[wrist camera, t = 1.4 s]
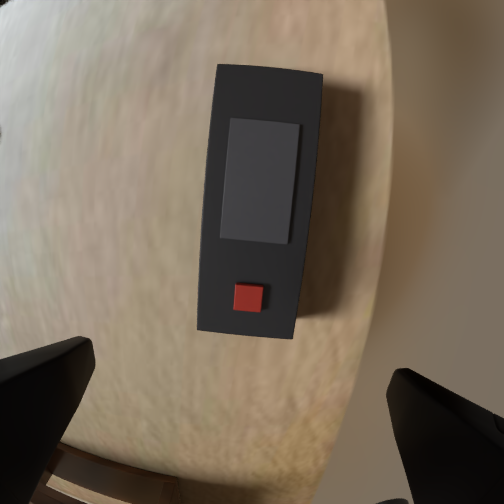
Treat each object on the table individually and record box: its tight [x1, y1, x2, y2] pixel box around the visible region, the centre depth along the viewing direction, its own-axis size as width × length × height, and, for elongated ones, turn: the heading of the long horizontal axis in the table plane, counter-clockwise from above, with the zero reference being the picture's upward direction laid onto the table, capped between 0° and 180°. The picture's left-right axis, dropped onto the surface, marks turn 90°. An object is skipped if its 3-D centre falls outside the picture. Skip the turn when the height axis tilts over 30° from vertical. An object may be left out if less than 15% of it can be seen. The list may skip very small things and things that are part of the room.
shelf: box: [29, 442, 181, 504], centre depth 17 cm, size 16×7×8 cm, turn 85°
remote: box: [197, 64, 323, 339], centre depth 13 cm, size 12×4×2 cm, turn 175°
